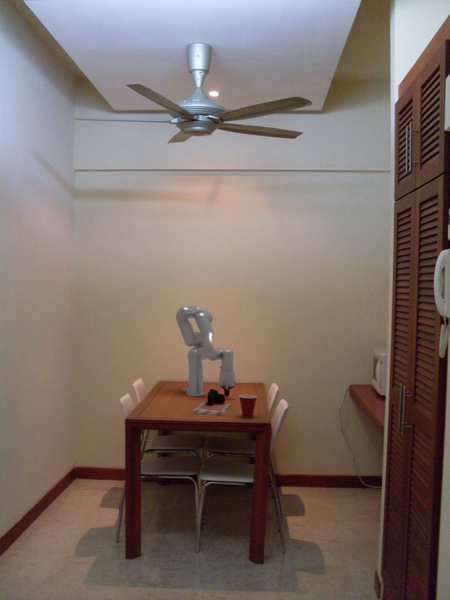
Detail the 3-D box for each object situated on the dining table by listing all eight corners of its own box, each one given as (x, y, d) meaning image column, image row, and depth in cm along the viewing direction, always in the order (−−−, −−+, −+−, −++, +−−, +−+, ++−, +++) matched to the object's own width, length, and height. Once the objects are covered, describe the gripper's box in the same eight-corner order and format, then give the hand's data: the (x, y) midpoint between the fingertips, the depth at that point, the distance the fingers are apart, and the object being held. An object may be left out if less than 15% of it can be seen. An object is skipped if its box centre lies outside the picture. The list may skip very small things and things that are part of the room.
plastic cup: (256, 413, 317) (256, 393, 316) (258, 418, 306) (258, 397, 305) (237, 413, 316) (238, 393, 316) (238, 418, 305) (239, 397, 305)
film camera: (221, 407, 332) (221, 392, 331) (205, 406, 334) (206, 391, 333) (226, 401, 347) (226, 387, 346) (211, 400, 349) (211, 386, 348)
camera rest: (193, 413, 316) (193, 409, 316) (204, 404, 337) (204, 401, 337) (221, 415, 311) (221, 412, 311) (231, 406, 333) (231, 403, 333)
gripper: (214, 368, 352) (214, 396, 353) (236, 369, 348) (236, 398, 349) (217, 366, 359) (217, 394, 360) (239, 368, 355) (239, 396, 356)
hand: (226, 396), depth 354 cm, fingers closed
